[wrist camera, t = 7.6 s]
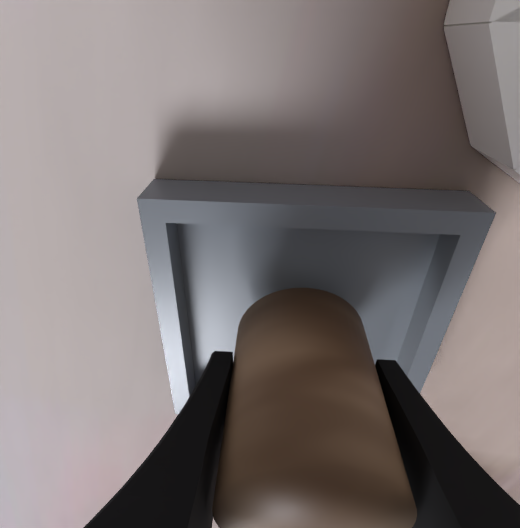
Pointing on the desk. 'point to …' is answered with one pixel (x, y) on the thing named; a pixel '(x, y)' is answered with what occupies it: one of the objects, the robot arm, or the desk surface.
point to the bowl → (488, 75)
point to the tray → (306, 262)
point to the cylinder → (308, 423)
